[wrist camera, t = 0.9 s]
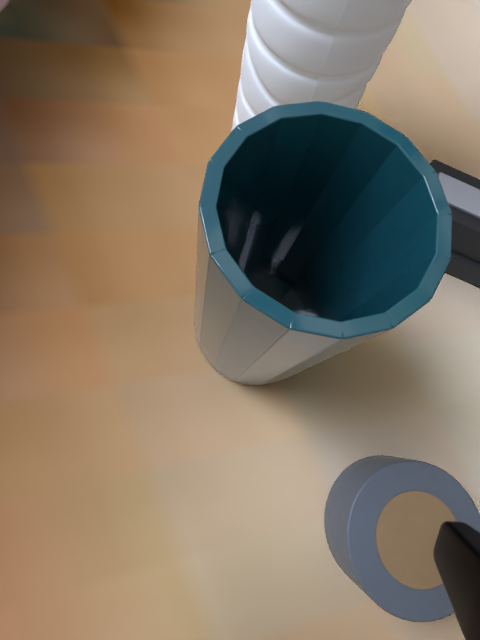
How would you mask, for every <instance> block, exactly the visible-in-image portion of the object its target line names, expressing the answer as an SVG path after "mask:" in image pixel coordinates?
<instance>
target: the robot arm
mask: <svg viewBox="0 0 480 640" xmlns="http://www.w3.org/2000/svg"><path fill="white" fill-rule="evenodd" d="M433 557H434V561H435V564H436V567H437V569H438V572H439V574H440V577H441V580H442V582H443V585H444V587H445V590H446V592H447V595H448V597H449V600H450V602H451V605H452V607H453V610H454V612H455V615H456V617H457V620H458V622H459V625H460V627H461V630H462V632H463V635H464V637H465V639H466V640H480V532H479V531H477V530H476V529H474V528H473V527H471V526H470V525H468V524H467V523H465V522H463V521H444V522H443V523H442V524H441V526H440V529H439V532H438V536H437V539H436V542H435V546H434V549H433Z"/></svg>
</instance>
